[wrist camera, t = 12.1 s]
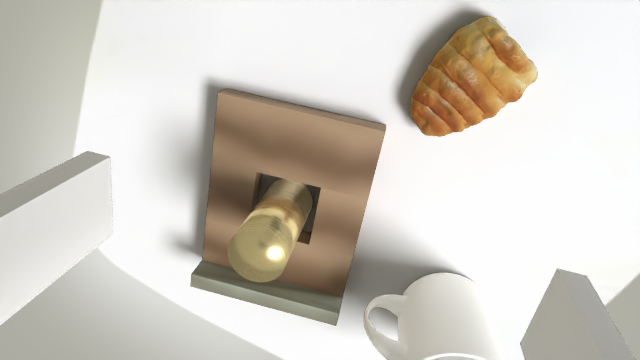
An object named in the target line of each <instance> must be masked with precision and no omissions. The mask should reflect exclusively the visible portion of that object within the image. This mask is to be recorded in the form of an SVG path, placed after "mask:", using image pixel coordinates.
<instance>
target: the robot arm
mask: <svg viewBox="0 0 640 360" xmlns="http://www.w3.org/2000/svg"><path fill="white" fill-rule="evenodd" d="M113 233H114V232H113V208H112V184H111V161H110V157H109V156H105V155H101V154H97V153H93V152H89V151H86V152H84V153H82V154H80V155H78V156H76V157H74V158H72V159H70V160H68V161H66V162H64V163H62V164H60V165H58V166H56V167H54V168H52V169H50V170H48V171H46V172H44V173H42V174H40V175H38V176H36V177H34V178H32V179H30V180H28V181H26V182H24V183H22V184H20V185H18V186H16V187H14V188H12V189H10V190H8V191H6V192H4V193H2V194H0V325H1V324H2V323H4V322H5V321H6V320H7V319H9V318H10V317H11V316H12V315H13V314H15V313H16V312H17V311H18V310H20V309H21V308H22V307H23V306H25V305H26V304H27V303H28V302H29V301H31V300H32V299H33V298H34V297H36V296H37V295H38V294H39V293H41V292H42V291H43V290H44V289H46V288H47V287H48V286H49V285H50V284H51V283H53V282H54V281H55V280H57V279H58V278H59V277H60V276H62V275H63V274H64V273H65V272H66V271H68V270H69V269H70V268H71V267H73V266H74V265H75V264H76V263H78V262H79V261H80V260H81V259H82V258H84V257H85V256H86V255H87V254H89V253H90V252H91V251H92V250H94V249H95V248H96V247H97V246H99V245H100V244H101V243H102V242H103V241H105V240H106V239H107V238H108V237H110V236H111V235H112V234H113ZM520 345H521V348H522V352H523V355H524V359H525V360H636V359H635V357H634V356H633V354H632V352H631V351H630V349H629V347H628V345H627V344H626V342H625V340H624V338H623V337H622V335H621V333H620V332H619V330H618V328H617V327H616V325H615V323H614V321H613V320H612V318H611V316H610V315H609V313H608V311H607V310H606V308H605V306H604V304H603V303H602V301H601V299H600V298H599V296H598V294H597V292H596V291H595V289H594V287H593V286H592V284H591V282H590V280H589V279H588V277H587V276H585V275H581V274H577V273H573V272H569V271H565V270H561V269H557V270H556V272H555V274H554V276H553V278H552V280H551V282H550V284H549V286H548V288H547V290H546V292H545V294H544V296H543V298H542V300H541V302H540V304H539V306H538V308H537V310H536V312H535V314H534V316H533V318H532V320H531V322H530V324H529V326H528V328H527V331H526V333H525V335H524V337H523V339H522V341H521V343H520Z"/></svg>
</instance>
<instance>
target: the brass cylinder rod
mask: <svg viewBox="0 0 640 360" xmlns="http://www.w3.org/2000/svg"><path fill="white" fill-rule="evenodd" d="M312 205H313V199H312V195H311V193H310V191H309V189H308V188H307V187H306V186H305V185H304V184H303V183H299V182H295V181H291V180H287V179H280V180H277V181H275V182H274V183H273V184H272V185H271V186H270V187H269V189H268V190H267V191H266V193H265V194H264V196H263V197H262V198H261V200H260V201H259V202H258V204H257V205H256V206H255V208H254V209H253V210H252V212H251V213H250V214H249V216H248V217H247V219H246V220H245V221H244V223H243V224H242V225H241V227H240V228H239V229H238V231H237V232H236V233H235V235H234V236H233V238H232V239H231V240H230V242H229V245H228V249H227V254H228V259H229V262H230V264H231V266H232V267H233V269H234V270H235V271H236V272H237V273H238V274H239V275H241V276H242V277H244V278H246V279H248V280H250V281H254V282H269V281H272V280H274V279H276V278H277V277H279V276H280V275H281V274H282V272H283V270H284V268H285V266H286V264H287V262H288V260H289V257H290V255H291V253H292V251H293V249H294V246H295V244H296V242H297V240H298V238H299V235H300V233H301V231H302V229H303V227H304V224H305V222H306V220H307V218H308V216H309V213H310V211H311V209H312Z"/></svg>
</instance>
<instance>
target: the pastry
mask: <svg viewBox="0 0 640 360" xmlns="http://www.w3.org/2000/svg"><path fill="white" fill-rule="evenodd" d="M537 76H538V72H537V68H536V66H535V65H534V63H533V62H532V61H531V60H530V59H528V57H527V56H526V54H525V53H524V51H523V50H522V49H521V47H520V45H519V44H518V43H517V42H516V41H515V40H514V39H512V38H511V37H509V36H508V33H507V31H506V29H505V27H504V26H503V25H502V24H501V23H500V21H499V20H498V19H496V18H494V17H491V16H486V17H482V18H480V19H478V20H476V21H474V22H473V23H471V24H469V25H466V26H463V27H461V28H459V29H458V30H457V31H456V32H455V33H454V34H453V36H452V37H451V38H450V39H449V41H448V42H447V43H446V44H445V45H444V46H443V47H442V48H441V49H440V50H439V51H438V52H437V53H436V54H435V56H434V58H433V60H432V61H431V63H430V64H429V66H428V68H427V70H426V72H425V73H424V74H423V76H422V78H421V79H420V81H419V82H418V84H417V86H416V88H415V89H414V91H413V95H412V96H411V105H410V116H411V118H412V119H413V121H414V123H415V124H416V125H417V126H418V127H419V129H420V130H421V132H422V133H423V134H425V135H428V136H445V135H447V134H450V133H452V132H461V131H463V130H464V129H466V128H468V127H470V126H473V125H476V124H478V123H480V122H481V121H482V120H484V119H487V118H491V117H494V116H495V115H496V114H497V113H498V112H499V111H500V109H501V108H503V107H504V106H505V105H506V104H507V103H508V102H515V101H517V100H518V99H520V98H521V96H522V94H523V92H524V91H525V89H526V88H527V86H528V85H529V84H531V83H533V82H534V81H535V80H536V79H537Z"/></svg>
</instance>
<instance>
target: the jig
mask: <svg viewBox="0 0 640 360" xmlns="http://www.w3.org/2000/svg"><path fill="white" fill-rule="evenodd" d="M385 130H386V125H384V124H379V123H375V122H371V121H366V120H362V119H357V118H353V117H349V116H344V115H340V114H336V113H331V112H327V111H323V110H318V109H314V108H310V107H305V106H301V105H296V104H292V103H288V102H283V101H279V100H275V99H270V98H266V97H262V96H257V95H253V94H249V93H244V92H240V91H236V90H231V89H225V90H223V91H221V92H219V93H218V98H217V109H216V119H215V130H214V140H213V151H212V162H211V172H210V183H209V194H208V204H207V215H206V225H205V236H204V247H203V257H202V261H201V262H200V264H199V265H198V266H197V268H196V269H195V270H194V271H193V273H192V274H191V287H195V288H199V289H202V290H206V291H210V292H213V293H217V294H221V295H224V296H228V297H232V298H236V299H239V300H243V301H247V302H250V303H254V304H258V305H261V306H265V307H269V308H272V309H276V310H280V311H283V312H287V313H291V314H295V315H298V316H302V317H306V318H309V319H313V320H317V321H320V322H324V323H328V324H331V325H335V326H336V324H337V320H338V317H339V312H340V307H341V302H342V297H343V293H344V290H345V286H346V282H347V278H348V274H349V270H350V266H351V263H352V259H353V255H354V251H355V247H356V243H357V239H358V235H359V232H360V228H361V224H362V220H363V216H364V212H365V208H366V205H367V201H368V197H369V193H370V189H371V185H372V181H373V177H374V174H375V170H376V166H377V162H378V158H379V154H380V150H381V146H382V143H383V139H384V135H385ZM262 173H263V174H267V175H271V176H275V177H279V178H283V179H287V180H291V181H295V182H299V183H303V184H308V185H312V186H316V187H320V188H321V191H320V195H319V200H318V205H317V210H316V215H315V219H314V224H313V229H312V234H311V233H307V232H303V231H301V233H300V235H299V238H298V240H297V242H296V244H295V246H294V249H293V251H292V253H291V255H290V257H289V260H288V262H287V264H286V266H285V268H284V270H283V272H282V274H281V275H280V276H279V277H277V278H276V279H274V280H272V281H269V282H254V281H250V280H248V279H246V278H244V277H242V276H241V275H239V274H238V273H237V272H236V271H235V270H234V269H233V267H232V266H231V264H230V262H229V259H228V254H227V249H228V245H229V242H230V240H231V239H232V238H233V236H234V235H235V233H236V232H237V231H238V229H239V228H240V227H241V225H242V224H243V223H244V221H245V220H246V219H247V217H248V216H249V214H250V213H251V212H252V210H253V209H254V208H255V206H256V205H257V202H258V195H259V188H260V181H261V174H262Z"/></svg>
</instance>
